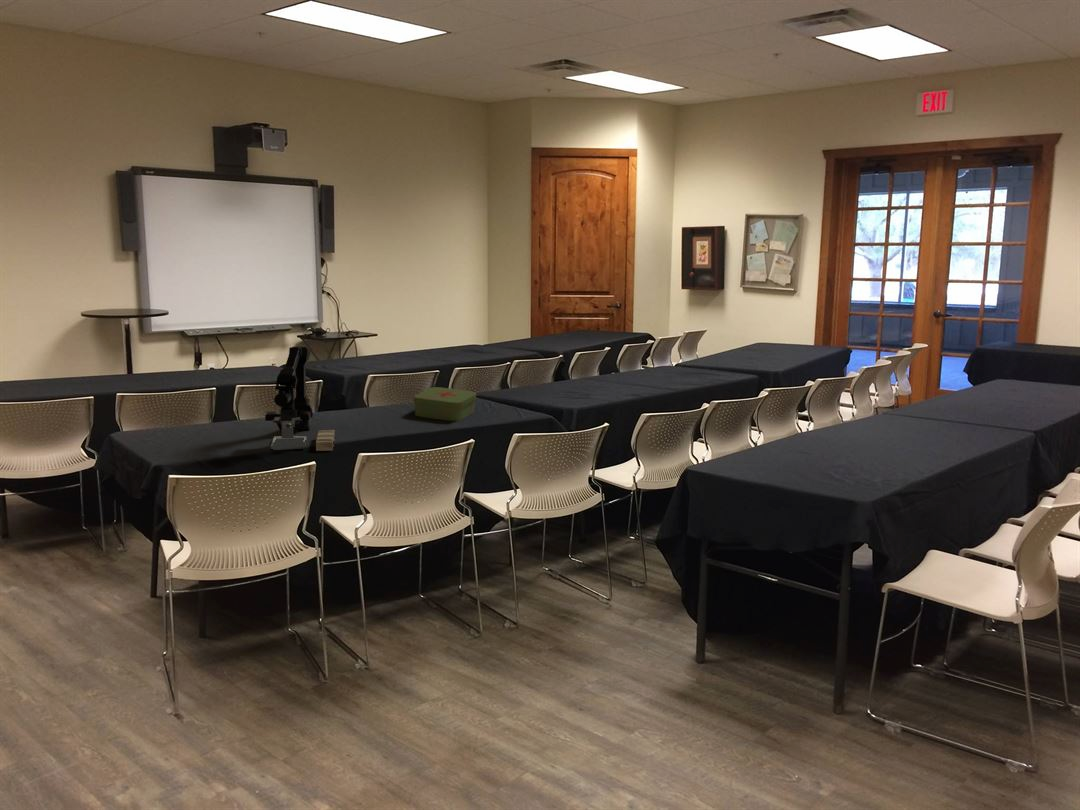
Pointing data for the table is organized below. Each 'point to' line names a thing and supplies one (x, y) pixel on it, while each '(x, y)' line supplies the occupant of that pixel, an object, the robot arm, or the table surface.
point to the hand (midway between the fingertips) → (288, 434)
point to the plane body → (325, 440)
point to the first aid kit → (444, 403)
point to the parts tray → (287, 438)
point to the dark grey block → (288, 430)
